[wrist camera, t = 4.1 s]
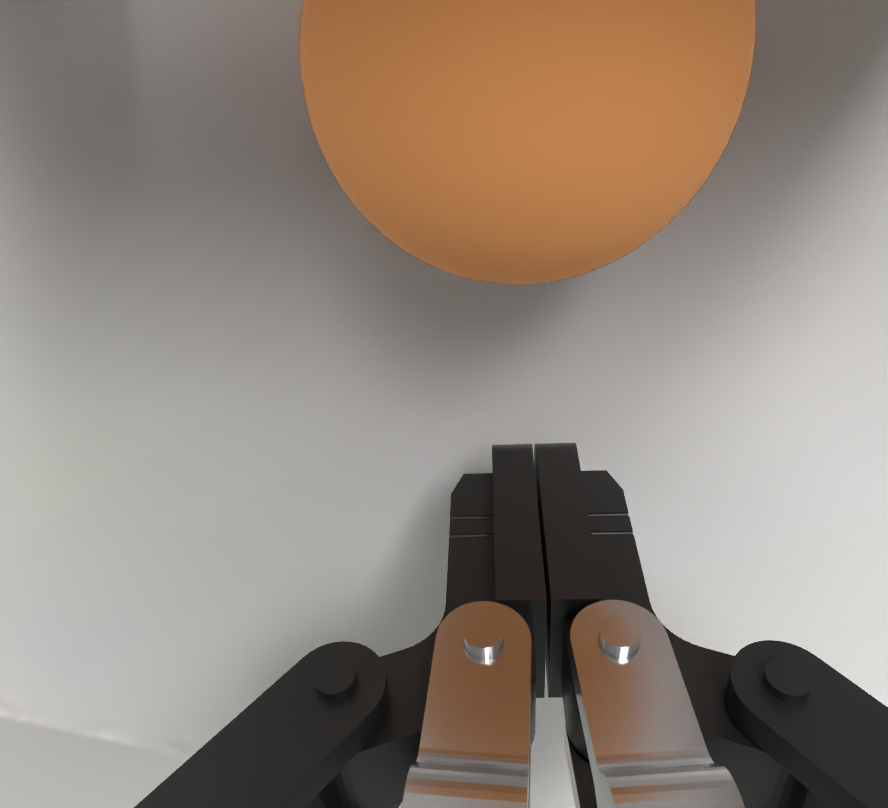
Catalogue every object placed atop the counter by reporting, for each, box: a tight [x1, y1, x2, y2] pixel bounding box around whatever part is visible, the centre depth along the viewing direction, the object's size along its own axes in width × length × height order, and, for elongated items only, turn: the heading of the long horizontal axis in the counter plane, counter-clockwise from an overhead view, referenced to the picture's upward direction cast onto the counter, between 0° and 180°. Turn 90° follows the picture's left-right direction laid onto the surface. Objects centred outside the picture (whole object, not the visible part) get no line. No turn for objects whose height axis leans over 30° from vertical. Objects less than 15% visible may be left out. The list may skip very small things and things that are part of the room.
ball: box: [300, 0, 755, 285], centre depth 8 cm, size 5×5×5 cm
